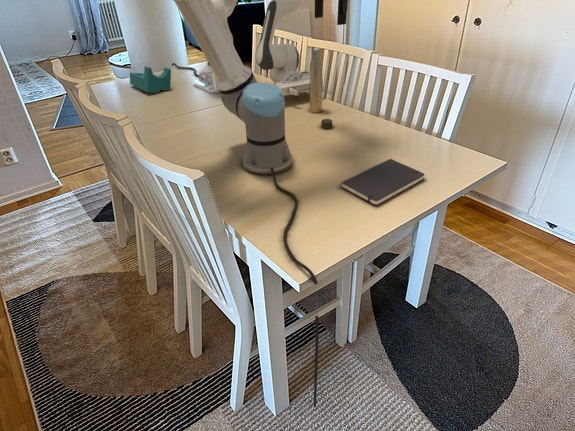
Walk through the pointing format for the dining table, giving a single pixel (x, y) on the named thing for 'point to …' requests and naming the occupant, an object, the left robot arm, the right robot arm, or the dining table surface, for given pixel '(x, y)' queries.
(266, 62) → the left robot arm
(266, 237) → the dining table surface
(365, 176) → the notebook
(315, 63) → the bottle
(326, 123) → the cap
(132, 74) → the green notched holder
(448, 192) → the dining table surface
